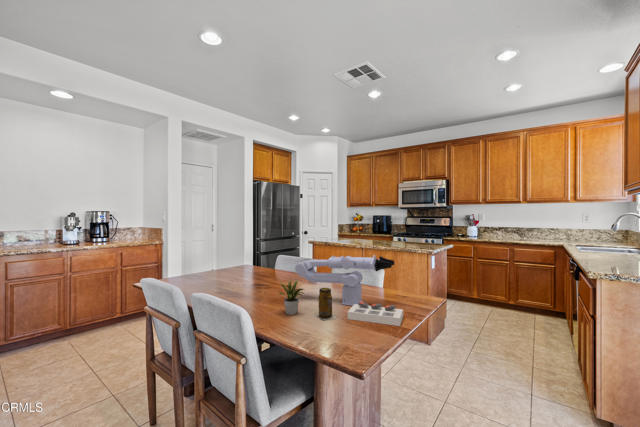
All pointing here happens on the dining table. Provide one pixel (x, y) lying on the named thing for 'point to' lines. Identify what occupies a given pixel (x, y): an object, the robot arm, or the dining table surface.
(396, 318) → the power strip
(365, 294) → the dining table surface
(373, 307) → the rocker middle
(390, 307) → the rocker right
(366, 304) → the rocker left
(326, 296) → the condiment
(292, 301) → the house plant
